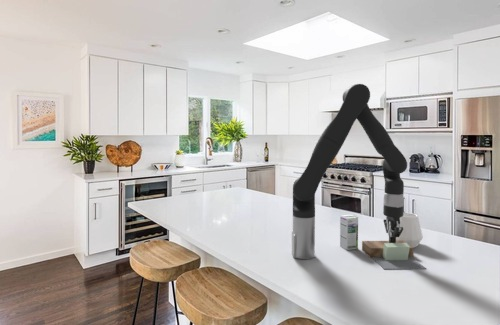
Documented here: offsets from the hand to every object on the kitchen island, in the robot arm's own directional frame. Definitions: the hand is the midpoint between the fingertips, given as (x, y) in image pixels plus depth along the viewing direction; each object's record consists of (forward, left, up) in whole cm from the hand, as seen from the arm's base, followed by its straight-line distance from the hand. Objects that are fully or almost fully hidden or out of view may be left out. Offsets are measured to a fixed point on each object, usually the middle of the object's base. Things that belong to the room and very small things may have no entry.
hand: (392, 245), depth 130 cm
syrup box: (-14, +12, -5) cm, 19 cm away
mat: (0, -6, -5) cm, 8 cm away
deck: (0, +5, -5) cm, 7 cm away
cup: (+14, +16, -5) cm, 22 cm away
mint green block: (0, -3, -2) cm, 3 cm away
